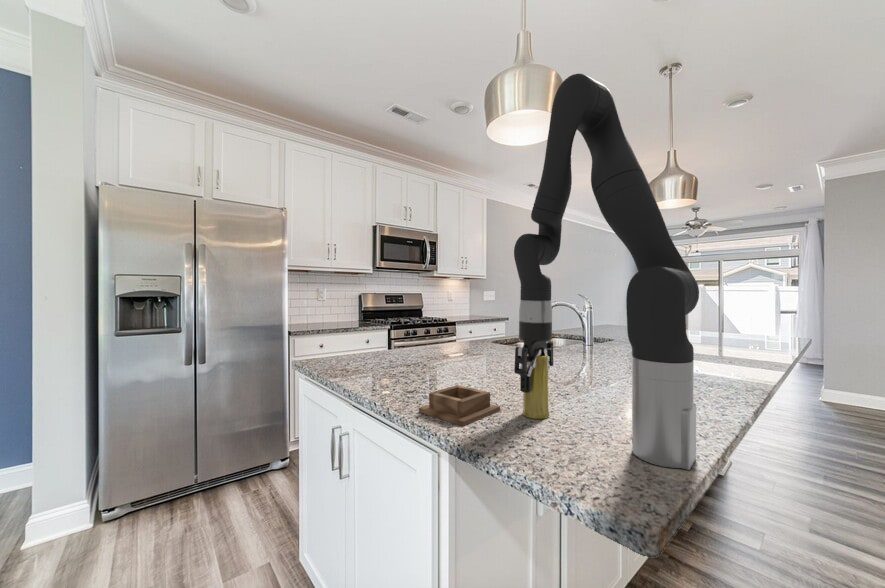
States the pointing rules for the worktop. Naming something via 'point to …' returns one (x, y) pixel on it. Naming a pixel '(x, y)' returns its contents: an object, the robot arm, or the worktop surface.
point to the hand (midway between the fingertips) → (534, 388)
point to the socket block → (459, 405)
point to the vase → (537, 391)
